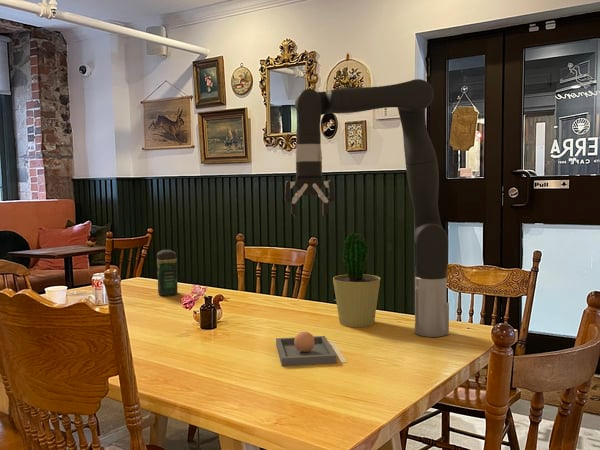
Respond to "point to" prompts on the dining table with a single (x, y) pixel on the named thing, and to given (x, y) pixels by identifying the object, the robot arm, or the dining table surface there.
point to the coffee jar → (167, 272)
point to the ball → (304, 341)
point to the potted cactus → (356, 286)
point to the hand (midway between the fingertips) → (309, 216)
